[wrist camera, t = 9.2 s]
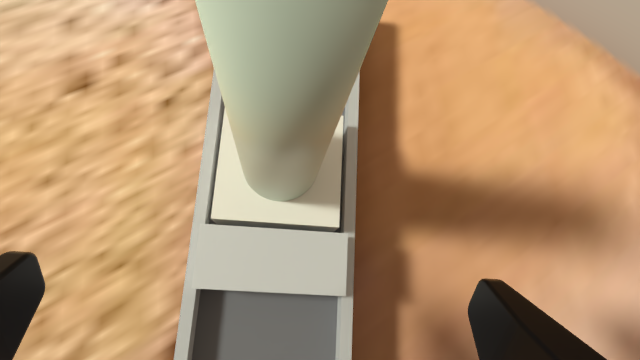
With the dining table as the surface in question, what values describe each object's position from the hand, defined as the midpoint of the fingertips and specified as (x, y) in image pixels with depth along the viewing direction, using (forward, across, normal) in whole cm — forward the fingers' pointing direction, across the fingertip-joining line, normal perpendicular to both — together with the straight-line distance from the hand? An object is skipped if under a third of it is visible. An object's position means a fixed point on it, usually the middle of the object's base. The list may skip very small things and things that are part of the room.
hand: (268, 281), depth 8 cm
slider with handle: (+10, 0, +3) cm, 11 cm away
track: (+12, 0, +4) cm, 12 cm away
